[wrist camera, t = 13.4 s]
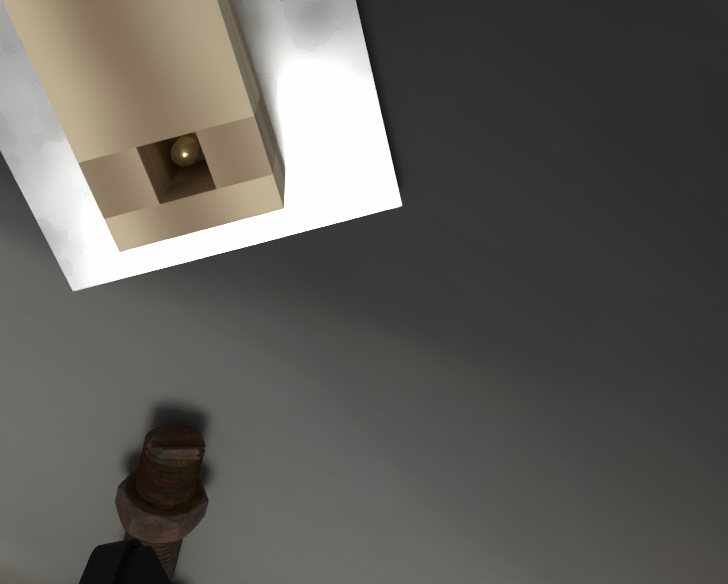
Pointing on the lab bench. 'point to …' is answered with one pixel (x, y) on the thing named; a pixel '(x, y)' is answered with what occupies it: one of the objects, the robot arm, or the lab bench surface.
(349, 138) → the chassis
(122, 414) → the lab bench surface
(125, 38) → the tan rectangular block
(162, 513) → the bolt
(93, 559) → the robot arm
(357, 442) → the lab bench surface
